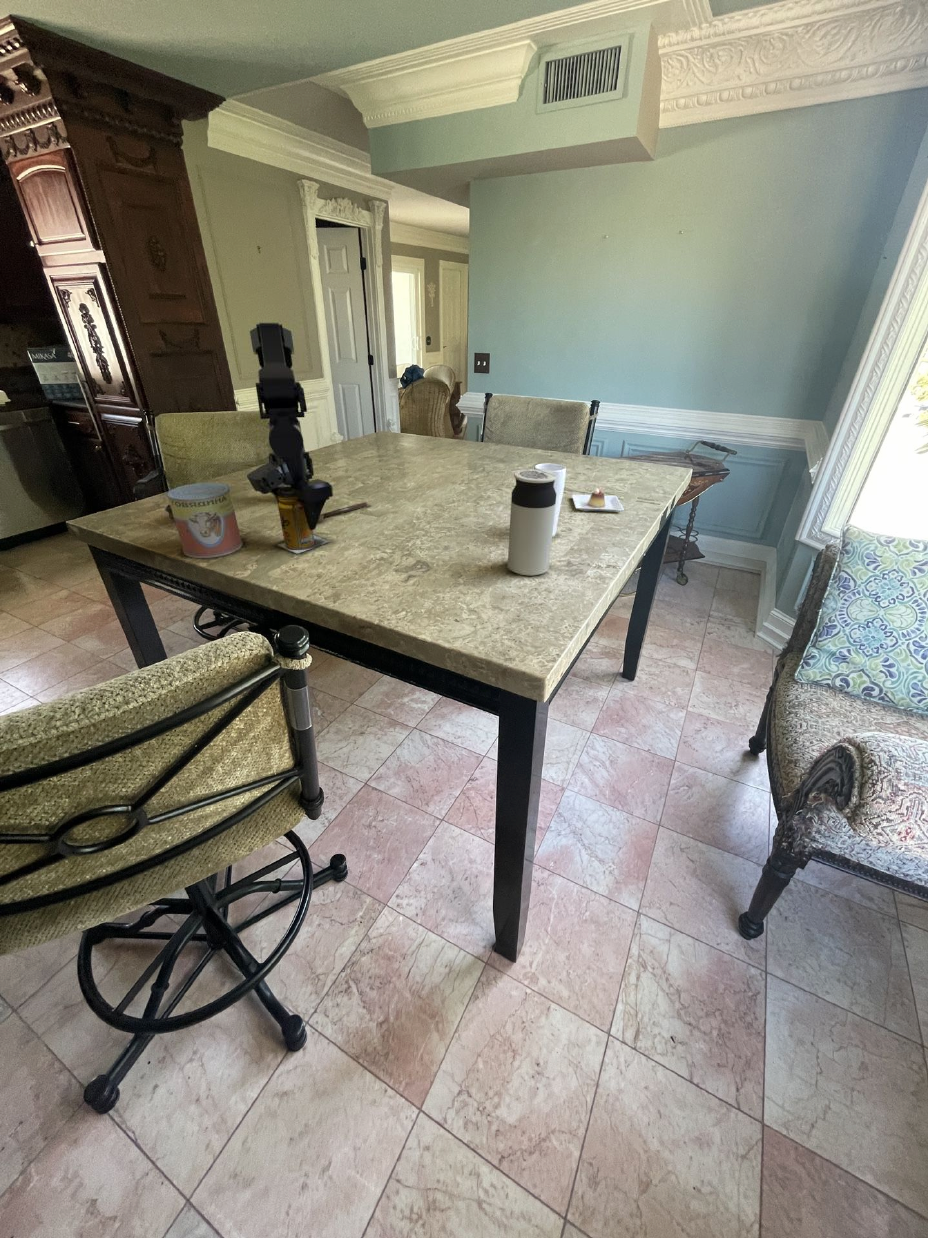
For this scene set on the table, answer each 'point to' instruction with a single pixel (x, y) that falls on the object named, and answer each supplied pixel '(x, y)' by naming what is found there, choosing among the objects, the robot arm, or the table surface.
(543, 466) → the drinking glass
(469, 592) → the table surface
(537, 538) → the travel mug
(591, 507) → the dessert
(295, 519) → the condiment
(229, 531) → the canned food
